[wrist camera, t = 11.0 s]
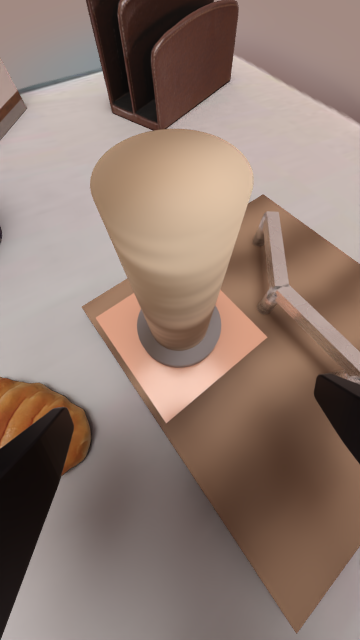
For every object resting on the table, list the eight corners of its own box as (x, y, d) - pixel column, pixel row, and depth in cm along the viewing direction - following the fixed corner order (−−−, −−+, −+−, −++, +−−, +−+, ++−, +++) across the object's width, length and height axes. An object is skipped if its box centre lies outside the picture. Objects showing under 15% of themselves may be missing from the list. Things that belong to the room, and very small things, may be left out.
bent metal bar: (344, 386, 15) (388, 381, 12) (299, 400, 15) (331, 399, 12) (261, 236, 21) (276, 205, 18) (227, 243, 21) (235, 213, 17)
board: (476, 362, 17) (493, 360, 16) (287, 615, 12) (296, 633, 11) (260, 202, 24) (263, 194, 23) (86, 311, 19) (81, 306, 18)
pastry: (107, 393, 16) (86, 390, 13) (80, 496, 14) (45, 528, 10) (-2, 376, 17) (-50, 369, 14) (-46, 473, 15) (-119, 495, 11)
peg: (230, 311, 17) (316, 140, 6) (199, 382, 15) (245, 318, 4) (163, 283, 18) (131, 96, 7) (124, 345, 16) (-3, 215, 5)
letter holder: (111, 114, 33) (64, -79, 20) (185, 68, 39) (186, -104, 25) (160, 135, 30) (143, -70, 17) (230, 82, 36) (257, -100, 23)
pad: (265, 338, 17) (267, 337, 16) (166, 422, 14) (166, 423, 14) (188, 261, 20) (188, 257, 19) (97, 320, 18) (95, 317, 17)
